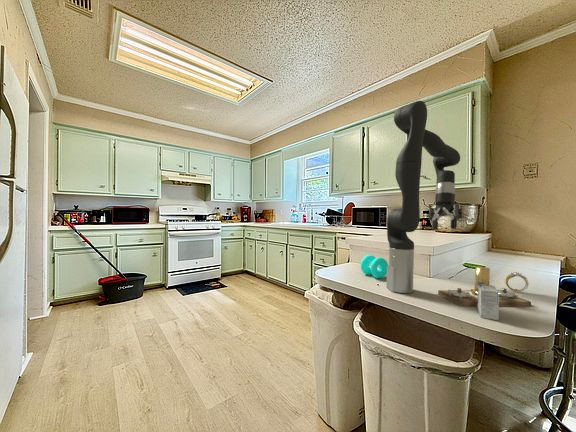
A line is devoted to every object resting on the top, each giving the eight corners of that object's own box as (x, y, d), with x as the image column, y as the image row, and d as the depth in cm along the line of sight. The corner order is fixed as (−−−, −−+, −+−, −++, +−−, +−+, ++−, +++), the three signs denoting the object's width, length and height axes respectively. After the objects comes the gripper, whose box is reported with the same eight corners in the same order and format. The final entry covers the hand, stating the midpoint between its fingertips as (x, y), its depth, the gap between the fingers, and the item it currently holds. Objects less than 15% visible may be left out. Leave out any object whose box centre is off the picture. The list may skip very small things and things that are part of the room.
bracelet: (505, 291, 102) (506, 271, 102) (504, 289, 105) (505, 270, 104) (529, 294, 98) (529, 274, 98) (527, 292, 101) (527, 272, 101)
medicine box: (498, 321, 74) (499, 292, 74) (479, 317, 76) (480, 289, 76) (494, 312, 81) (495, 285, 80) (477, 309, 83) (477, 283, 83)
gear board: (460, 306, 85) (460, 300, 85) (438, 294, 97) (438, 289, 97) (530, 305, 86) (531, 300, 86) (500, 294, 98) (500, 289, 98)
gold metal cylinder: (479, 297, 89) (480, 269, 88) (466, 292, 95) (467, 265, 94) (497, 297, 89) (498, 269, 88) (483, 292, 95) (484, 265, 95)
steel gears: (456, 298, 88) (456, 291, 88) (443, 292, 95) (443, 285, 95) (522, 298, 89) (522, 291, 89) (505, 292, 95) (505, 285, 95)
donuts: (374, 273, 129) (374, 253, 129) (389, 277, 120) (389, 257, 120) (359, 274, 125) (359, 255, 125) (373, 280, 116) (373, 258, 116)
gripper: (425, 194, 118) (423, 228, 116) (454, 189, 105) (453, 227, 103) (436, 197, 121) (435, 230, 118) (466, 192, 107) (466, 229, 105)
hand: (443, 229), depth 111 cm, fingers open, 8 cm apart
